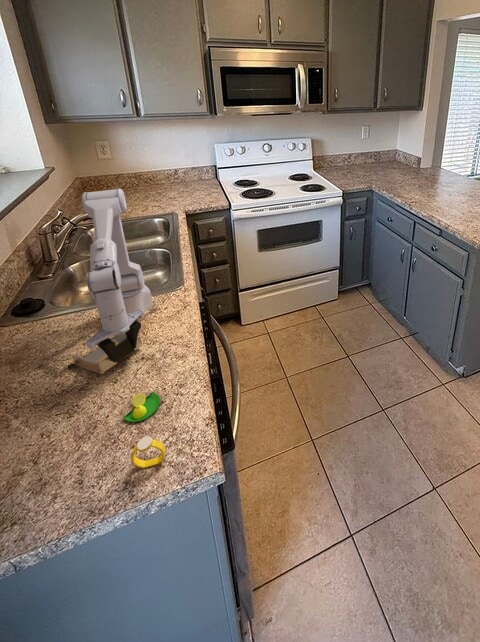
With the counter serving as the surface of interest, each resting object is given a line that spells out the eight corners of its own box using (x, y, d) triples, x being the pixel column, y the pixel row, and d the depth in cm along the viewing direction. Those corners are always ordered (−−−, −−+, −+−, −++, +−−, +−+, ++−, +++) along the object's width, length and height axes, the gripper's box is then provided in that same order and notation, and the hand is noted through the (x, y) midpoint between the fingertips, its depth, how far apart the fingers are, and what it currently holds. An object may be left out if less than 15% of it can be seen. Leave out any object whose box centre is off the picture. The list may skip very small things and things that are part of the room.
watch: (168, 453, 74) (163, 432, 72) (165, 466, 71) (160, 445, 69) (136, 460, 72) (130, 439, 70) (133, 474, 70) (126, 452, 68)
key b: (109, 352, 99) (109, 352, 98) (113, 354, 98) (113, 353, 98) (95, 362, 95) (94, 361, 95) (98, 364, 94) (98, 363, 94)
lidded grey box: (75, 365, 96) (68, 349, 95) (117, 338, 107) (111, 323, 105) (106, 376, 90) (99, 358, 88) (147, 346, 100) (141, 330, 98)
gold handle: (68, 369, 96) (67, 365, 95) (120, 335, 108) (119, 332, 108) (71, 370, 95) (70, 367, 95) (123, 336, 108) (122, 333, 107)
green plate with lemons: (117, 409, 84) (115, 400, 83) (151, 388, 89) (149, 379, 88) (131, 430, 79) (128, 420, 78) (166, 406, 84) (164, 397, 83)
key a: (116, 342, 103) (116, 341, 103) (120, 343, 102) (120, 342, 102) (103, 351, 100) (102, 350, 100) (106, 352, 99) (106, 351, 99)
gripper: (93, 332, 82) (106, 378, 87) (147, 299, 95) (156, 341, 99) (75, 323, 85) (89, 368, 90) (130, 293, 98) (139, 334, 102)
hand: (123, 353), depth 95 cm, fingers closed on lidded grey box, 5 cm apart
